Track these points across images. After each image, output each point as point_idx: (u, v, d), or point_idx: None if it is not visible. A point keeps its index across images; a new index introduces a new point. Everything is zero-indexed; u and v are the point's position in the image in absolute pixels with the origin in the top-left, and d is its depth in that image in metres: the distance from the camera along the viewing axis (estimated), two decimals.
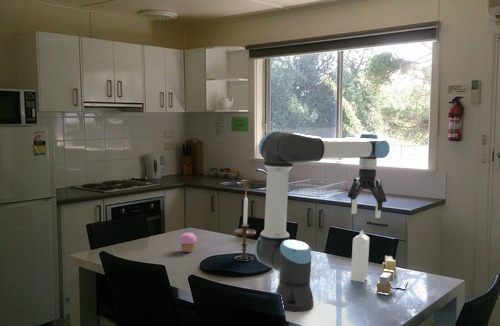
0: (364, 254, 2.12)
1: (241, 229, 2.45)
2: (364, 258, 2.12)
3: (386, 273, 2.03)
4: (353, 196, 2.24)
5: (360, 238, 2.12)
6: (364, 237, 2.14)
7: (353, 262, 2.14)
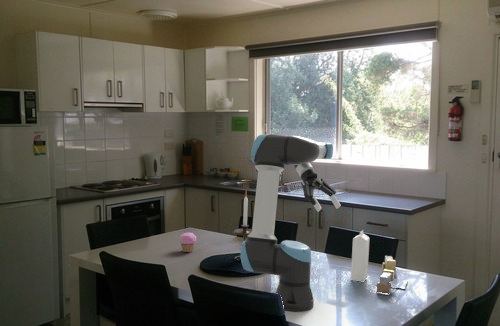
0: (364, 254, 2.12)
1: (241, 229, 2.45)
2: (364, 258, 2.12)
3: (386, 273, 2.03)
4: (312, 194, 2.25)
5: (360, 238, 2.12)
6: (364, 237, 2.14)
7: (353, 262, 2.14)
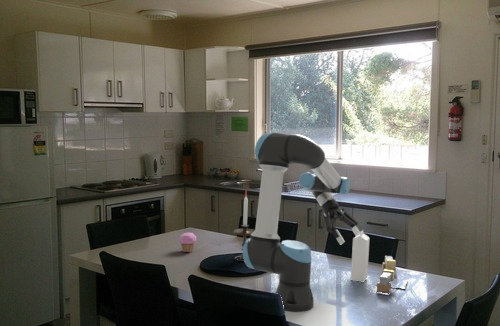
0: (364, 254, 2.12)
1: (241, 229, 2.45)
2: (364, 258, 2.12)
3: (386, 273, 2.03)
4: (335, 226, 2.19)
5: (360, 238, 2.12)
6: (364, 237, 2.14)
7: (353, 262, 2.14)
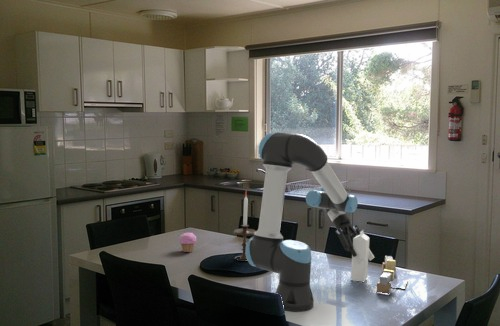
0: (364, 254, 2.12)
1: (241, 229, 2.45)
2: (364, 258, 2.12)
3: (386, 273, 2.03)
4: None
5: (360, 238, 2.12)
6: (364, 237, 2.14)
7: (353, 262, 2.14)
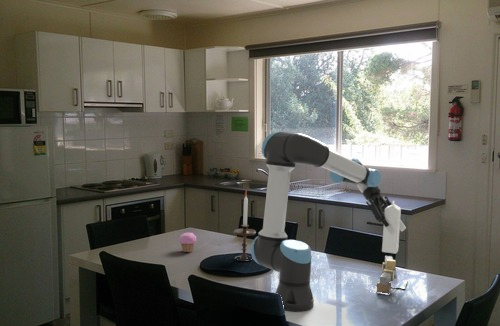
0: (396, 224, 2.08)
1: (241, 229, 2.45)
2: (396, 228, 2.08)
3: (386, 273, 2.03)
4: (383, 214, 2.10)
5: (392, 208, 2.09)
6: (396, 207, 2.10)
7: (385, 233, 2.11)
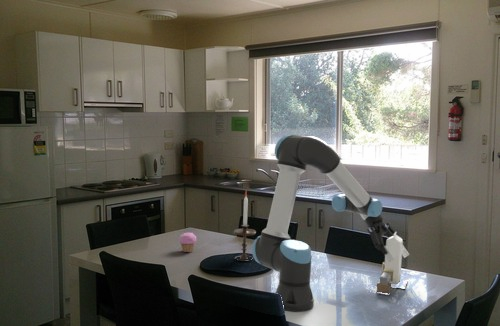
0: (398, 256, 2.08)
1: (241, 229, 2.45)
2: (398, 260, 2.09)
3: (386, 273, 2.03)
4: None
5: (394, 240, 2.09)
6: (398, 238, 2.10)
7: (386, 264, 2.11)
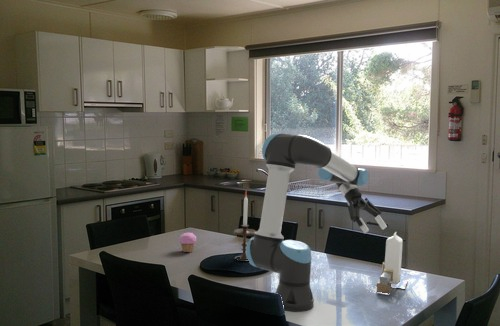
0: (398, 256, 2.09)
1: (241, 229, 2.45)
2: (398, 260, 2.09)
3: (386, 273, 2.03)
4: None
5: (394, 240, 2.09)
6: (398, 238, 2.11)
7: (386, 264, 2.11)
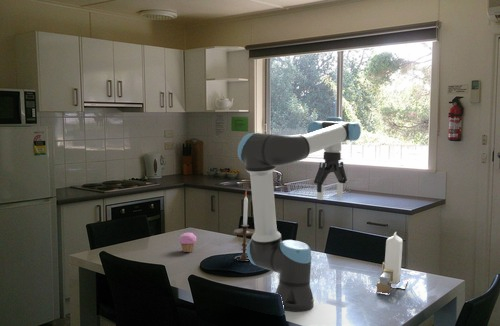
0: (398, 256, 2.09)
1: (241, 229, 2.45)
2: (398, 260, 2.09)
3: (386, 273, 2.03)
4: (323, 181, 2.16)
5: (394, 240, 2.09)
6: (398, 238, 2.11)
7: (386, 264, 2.11)
